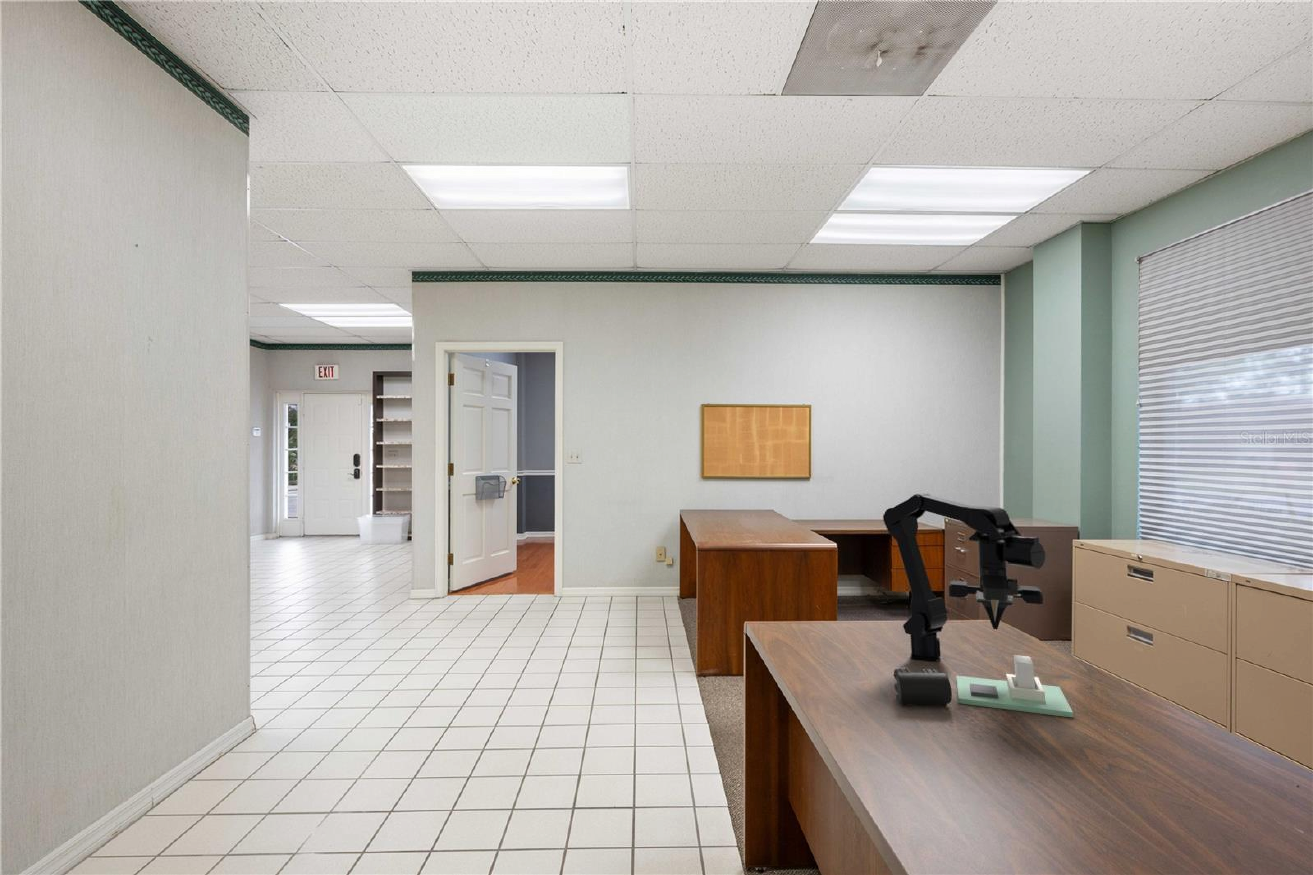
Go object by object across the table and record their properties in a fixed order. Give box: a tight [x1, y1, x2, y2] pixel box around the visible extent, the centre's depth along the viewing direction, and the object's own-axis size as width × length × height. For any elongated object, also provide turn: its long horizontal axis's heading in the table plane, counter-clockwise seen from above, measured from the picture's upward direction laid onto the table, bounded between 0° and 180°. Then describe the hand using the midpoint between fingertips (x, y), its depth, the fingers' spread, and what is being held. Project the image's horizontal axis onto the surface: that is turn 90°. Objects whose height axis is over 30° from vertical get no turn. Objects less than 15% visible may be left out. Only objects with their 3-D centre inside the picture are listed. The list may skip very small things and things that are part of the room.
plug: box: [1013, 654, 1035, 689], centre depth 124 cm, size 3×6×7 cm, turn 154°
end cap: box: [893, 668, 953, 707], centre depth 123 cm, size 10×7×7 cm
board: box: [956, 673, 1074, 718], centre depth 124 cm, size 20×14×3 cm
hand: (995, 628), depth 135 cm, fingers closed
